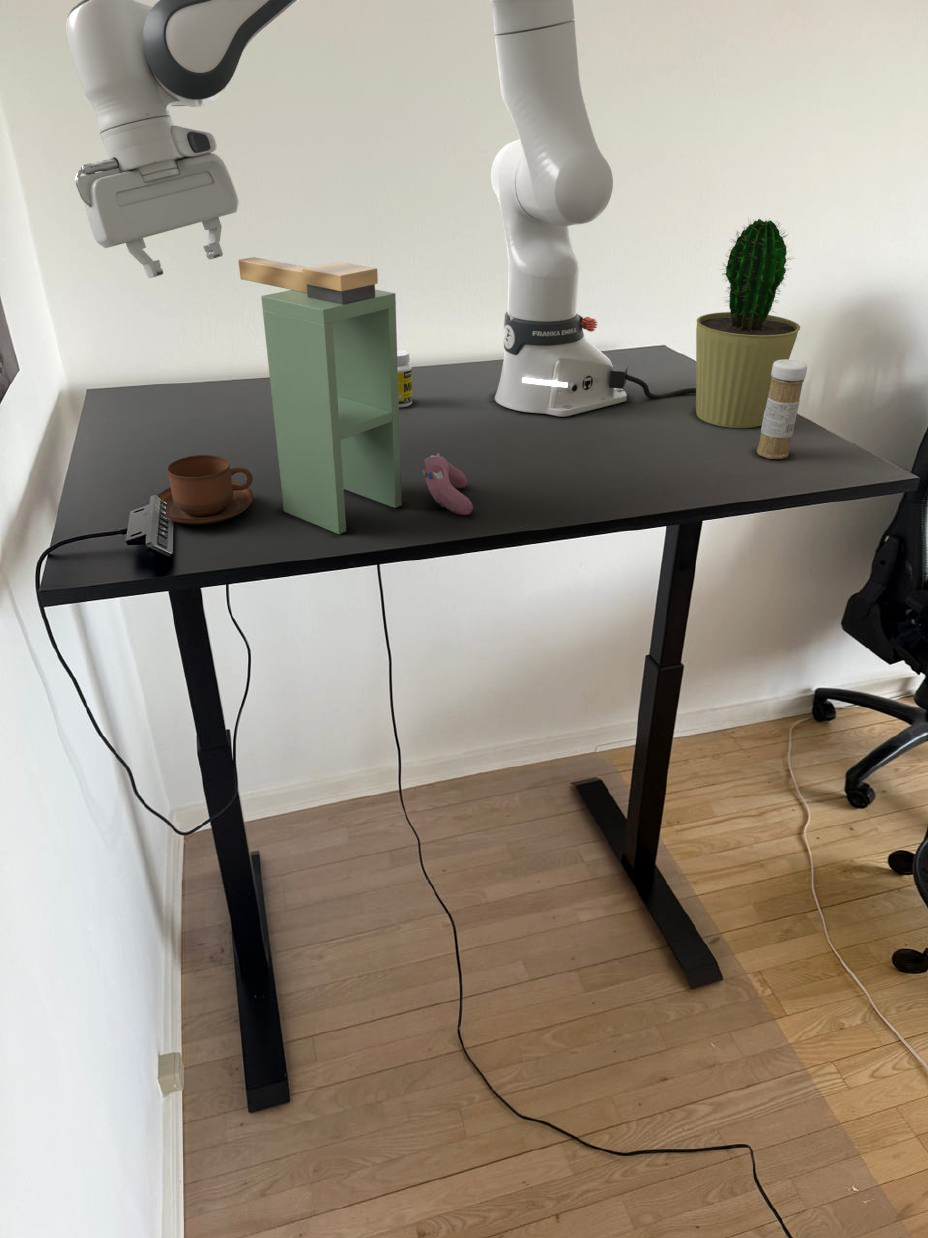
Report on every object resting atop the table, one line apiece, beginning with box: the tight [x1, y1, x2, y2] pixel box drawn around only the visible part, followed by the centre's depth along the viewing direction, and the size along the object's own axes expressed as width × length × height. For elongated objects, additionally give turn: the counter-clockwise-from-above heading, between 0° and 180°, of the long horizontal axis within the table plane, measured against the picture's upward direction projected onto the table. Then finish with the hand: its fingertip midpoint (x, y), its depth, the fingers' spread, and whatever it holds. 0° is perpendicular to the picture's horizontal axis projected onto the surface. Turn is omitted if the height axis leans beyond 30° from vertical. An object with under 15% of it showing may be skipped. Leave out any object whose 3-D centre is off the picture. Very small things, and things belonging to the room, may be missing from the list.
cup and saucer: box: [156, 454, 254, 526], centre depth 110 cm, size 12×12×6 cm
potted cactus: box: [695, 218, 801, 429], centre depth 136 cm, size 15×15×30 cm
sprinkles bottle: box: [756, 359, 808, 461], centre depth 126 cm, size 5×5×14 cm
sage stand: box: [261, 288, 403, 535], centre depth 106 cm, size 10×11×26 cm
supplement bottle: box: [397, 349, 413, 408], centre depth 146 cm, size 5×5×8 cm
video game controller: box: [422, 452, 474, 516], centre depth 113 cm, size 10×5×7 cm, turn 5°
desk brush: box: [238, 256, 379, 304], centre depth 101 cm, size 19×6×3 cm, turn 51°
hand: (186, 266), depth 117 cm, fingers open, 8 cm apart
